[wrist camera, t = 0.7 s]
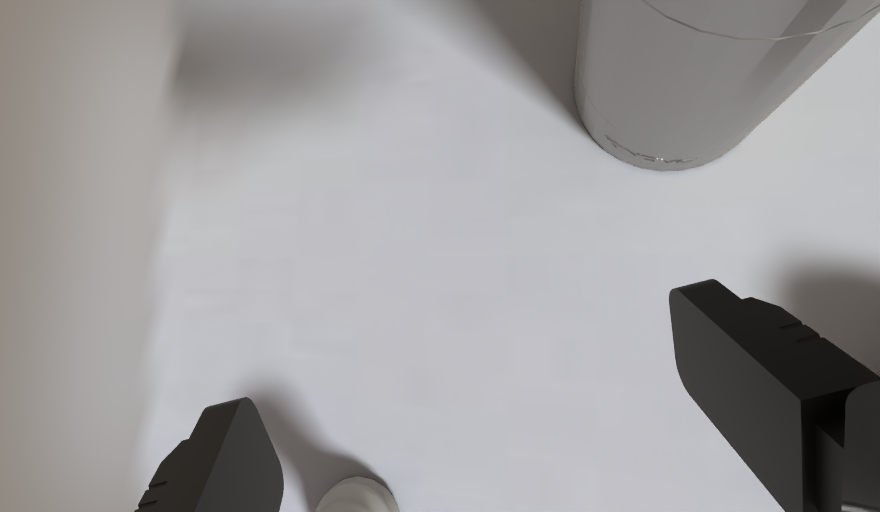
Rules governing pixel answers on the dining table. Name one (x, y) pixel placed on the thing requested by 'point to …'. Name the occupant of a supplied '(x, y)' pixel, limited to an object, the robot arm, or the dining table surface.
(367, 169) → the dining table surface
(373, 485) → the rook chess piece
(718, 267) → the dining table surface
